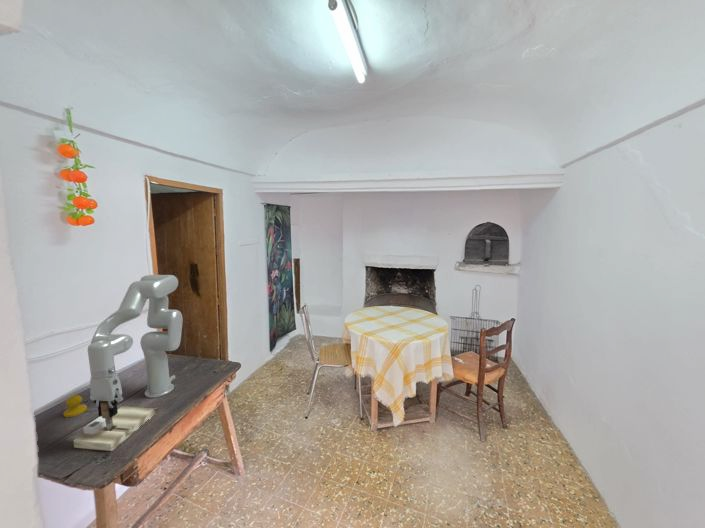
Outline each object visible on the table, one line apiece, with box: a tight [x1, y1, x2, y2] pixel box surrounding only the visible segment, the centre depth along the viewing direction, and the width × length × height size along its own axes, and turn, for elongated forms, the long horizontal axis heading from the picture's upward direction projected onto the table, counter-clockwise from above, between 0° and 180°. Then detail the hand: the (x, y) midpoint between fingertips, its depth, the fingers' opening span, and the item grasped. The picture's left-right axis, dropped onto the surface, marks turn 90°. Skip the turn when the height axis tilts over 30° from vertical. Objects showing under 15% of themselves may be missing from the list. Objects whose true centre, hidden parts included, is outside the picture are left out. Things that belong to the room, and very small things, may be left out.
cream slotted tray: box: [72, 405, 156, 452], centre depth 129 cm, size 22×16×3 cm
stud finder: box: [82, 416, 106, 434], centre depth 126 cm, size 8×4×2 cm, turn 173°
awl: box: [100, 400, 114, 431], centre depth 124 cm, size 4×4×12 cm
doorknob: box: [63, 394, 88, 418], centre depth 140 cm, size 8×8×8 cm
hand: (108, 414), depth 124 cm, fingers closed on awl, 4 cm apart
